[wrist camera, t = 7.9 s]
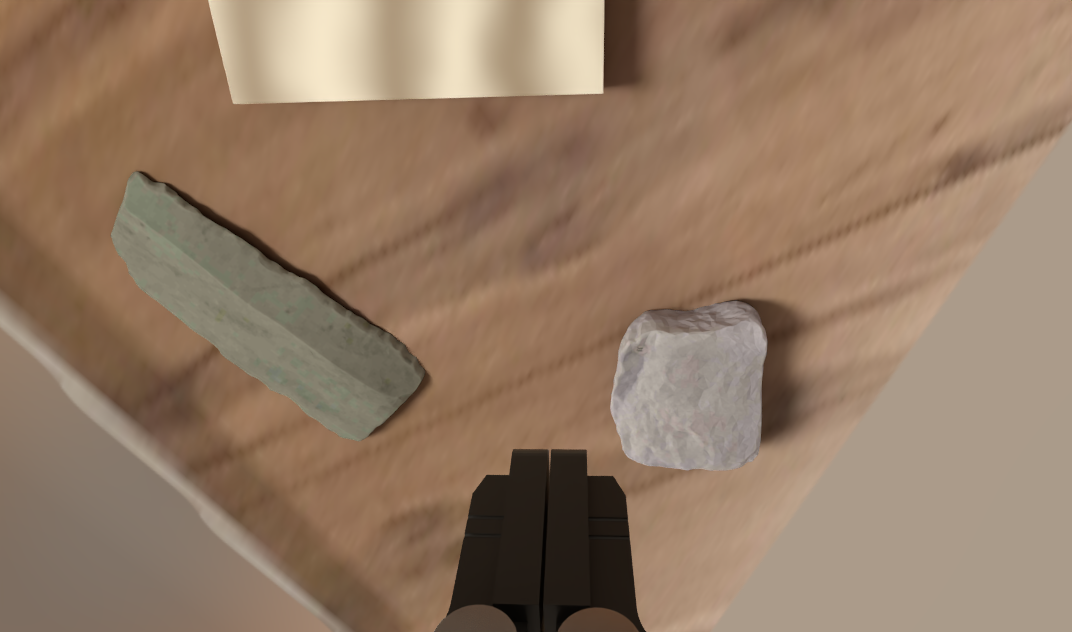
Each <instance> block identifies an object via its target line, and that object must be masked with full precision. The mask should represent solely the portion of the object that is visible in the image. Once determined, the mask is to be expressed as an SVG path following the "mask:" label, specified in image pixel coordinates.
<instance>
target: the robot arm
mask: <svg viewBox="0 0 1072 632" xmlns="http://www.w3.org/2000/svg"><path fill="white" fill-rule="evenodd" d="M434 632H646V631H645V630H644V628H643V626H642V624H641V622H640V620H639V617H638V613H637V607H636V597H635V586H634V576H633V566H632V556H631V545H630V535H629V525H628V515H627V505H626V495H625V494H624V492H623V491H622V489H621V488H620V486H619V484H618V483H617V481H616V480H615V478H614V477H613V476H587V450H563V449H551V462H550V470H549V450H544V449H513V452H512V458H511V466H510V473H509V475H486V477H485V478H484V479H483V481H482V482H481V483H480V485H479V486H478V487H477V489H476V490H475V491H474V493H473V494H472V499H471V504H470V509H469V514H468V520H467V525H466V530H465V538H464V540H463V545H462V550H461V555H460V560H459V565H458V570H457V575H456V580H455V585H454V590H453V595H452V600H451V605H450V608H449V611H448V613H447V616H446V617H445V618H444V619H443V620H442V621H441V622H440V624H439V625H438V626H437V628H436V629H435V631H434Z"/></svg>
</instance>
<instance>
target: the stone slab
mask: <svg viewBox="0 0 1072 632" xmlns="http://www.w3.org/2000/svg"><path fill="white" fill-rule="evenodd" d="M111 237H112V240H113V244H114V246H115V248H116V250H117V253H118V254H119V256H120V257H122V259H123V260H124V261H125V262H126V264H127V267H128V270H129V274H130V275H131V276H132V277H133V279H134V280H135V282H136V284H137V285H138V287H139V288H140V289H141V290H143V291H144V292H145V293H146V294H148V295H149V296H150V297H152V298H153V299H155V300H156V301H157V302H159V303H160V304H161V305H163V306H164V307H165V308H166V309H167V310H169V311H170V312H171V313H173V314H174V315H175V316H176V317H178V318H179V319H180V320H181V321H182V322H184V323H185V324H186V325H187V326H188V327H189V328H191V329H192V330H193V331H194V332H196V333H198V334H199V335H201V336H202V337H204V338H206V339H207V340H208V341H210V342H211V343H212V344H213V345H215V346H216V347H217V348H218V349H219V351H220V352H221V354H222V355H223V356H224V357H225V358H226V359H228V360H229V361H231V362H232V363H234V364H235V365H237V366H238V367H239V368H241V369H242V370H244V371H245V372H246V373H247V374H248V375H250V376H252V377H255V378H257V379H259V380H260V381H262V382H263V383H264V384H265V385H267V386H268V388H269V389H270V390H271V391H275V392H277V393H279V394H282V395H285V396H287V397H289V398H290V399H291V400H292V401H294V402H295V403H296V404H297V405H298V406H299V407H300V408H301V409H302V410H303V411H304V412H305V413H306V414H307V415H308V416H310V417H312V418H314V419H316V420H317V421H319V422H320V423H321V424H322V425H324V426H325V427H326V428H327V429H329V430H330V431H333V432H335V433H337V434H338V435H339V436H340V437H342V438H347V439H352V440H356V441H361V440H363V439H365V438H367V437H368V436H369V434H370V433H371V432H373V430H374V429H375V428H376V427H377V426H380V425H382V424H383V423H384V422H385V421H386V420H387V419H388V418H389V417H390V416H391V415H392V414H393V413H394V412H395V411H396V410H397V409H398V408H399V406H400V405H402V404H403V403H404V402H405V401H406V400H407V399H408V397H409V396H410V395H412V394H413V393H414V392H415V391H416V389H417V388H418V386H419V384H420V382H421V381H422V379H423V377H424V375H425V371H424V369H423V368H422V366H421V365H420V364H419V362H418V360H417V358H416V357H415V356H413V355H412V354H410V353H409V352H408V350H407V348H406V346H405V344H403V343H401V342H400V341H398V340H397V339H396V338H394V337H393V336H392V335H391V334H390V333H387V332H384V331H383V330H381V329H379V328H378V327H375V326H373V325H371V324H369V323H368V322H367V321H366V320H364V319H363V318H361V317H359V316H356V315H355V314H354V313H352V312H351V311H349V310H346V309H345V308H344V307H343V306H341V305H340V304H338V303H337V302H335V301H334V300H332V299H331V298H329V297H328V296H326V295H325V294H323V293H322V292H321V291H320V290H319V289H318V288H317V287H316V286H315V285H314V284H312V283H310V282H309V281H308V280H307V279H305V278H302V277H298V276H296V275H295V274H294V273H291V272H288V271H286V270H285V269H283V268H282V267H281V266H280V265H279V264H277V263H276V262H274V261H271V260H269V259H268V258H266V257H265V256H264V255H263V254H262V253H261V252H260V251H259V250H258V249H257V248H255V247H253V246H251V245H250V244H248V243H247V242H246V241H244V240H243V239H242V238H240V237H238V236H236V235H234V234H233V233H232V232H230V231H229V230H227V229H226V228H224V227H221V226H219V225H217V224H216V223H214V222H213V221H211V220H209V219H207V218H206V217H204V216H203V215H202V214H201V212H200V211H199V210H198V209H197V208H195V207H193V206H191V205H190V204H189V203H187V202H186V201H184V200H183V199H182V198H180V197H179V196H178V195H177V193H176V192H175V191H173V190H172V189H170V188H169V187H168V186H166V185H165V184H164V183H158V182H157V183H155V182H152V181H151V180H149V179H148V178H147V177H145V176H144V175H142V174H141V173H139V172H134V173H133V174H132V175H131V176H130V177H129V179H128V182H127V187H126V191H125V196H124V199H123V202H122V204H121V207H120V209H119V212H118V215H117V218H116V221H115V224H114V228H113V231H112V233H111Z"/></svg>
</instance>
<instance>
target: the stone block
mask: <svg viewBox="0 0 1072 632" xmlns="http://www.w3.org/2000/svg"><path fill="white" fill-rule="evenodd" d="M766 355H767V336H766V331H765V328H764V327H763V325H762V323H761V318H760V316H759V314H758V312H757V311H756V310H755V309H754V308H753V307H752V306H750V305H749V304H747V303H743V302H740V301H729V302H723V303H720V304H719V303H715V304H713V305H710V306H704V307H700V308H697V309H695V310H692V311H676V310H670V309H665V310H650V311H646V312H644V313H643V314H642V315H641V316H639V317H638V318H637V319H635V320H634V321H633V322H632V323H631V325H630V326H629V327H628V329H627V332H626V334H625V335H624V337H623V339H622V341H621V345H620V348H619V353H618V365H617V372H616V374H615V377H614V387H613V391H612V398H611V413H612V416H613V419H614V421H615V423H616V428H617V432H618V434H619V436H620V438H621V443H622V447H623V448H622V449H623V450H624V452H625V454H626V455H627V457H629V458H630V459H632V460H635V461H636V462H638V463H641V464H644V465H648V466H661V467H667V468H677V469H684V470H691V469H706V470H711V471H713V470H731V469H735V468H740V467H742V466H743V465H744V464H745V463H747V462H748V461H749V462H752V461H753V460H754V458H755V457H756V456H757V455H758V452H759V447H760V441H761V424H762V390H761V389H762V375H763V364H764V361H765V358H766Z"/></svg>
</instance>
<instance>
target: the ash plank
mask: <svg viewBox="0 0 1072 632" xmlns="http://www.w3.org/2000/svg"><path fill="white" fill-rule="evenodd" d="M208 1H209V6H210V10H211V14H212V18H213V22H214V26H215V30H216V35H217V39H218V43H219V47H220V51H221V55H222V59H223V64H224V68H225V72H226V76H227V80H228V84H229V89H230V93H231V97H232V101H233V104H255V103H290V102H324V101H359V100H394V99H429V98H464V97H499V96H534V95H569V94H603V65H604V0H208Z"/></svg>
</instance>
